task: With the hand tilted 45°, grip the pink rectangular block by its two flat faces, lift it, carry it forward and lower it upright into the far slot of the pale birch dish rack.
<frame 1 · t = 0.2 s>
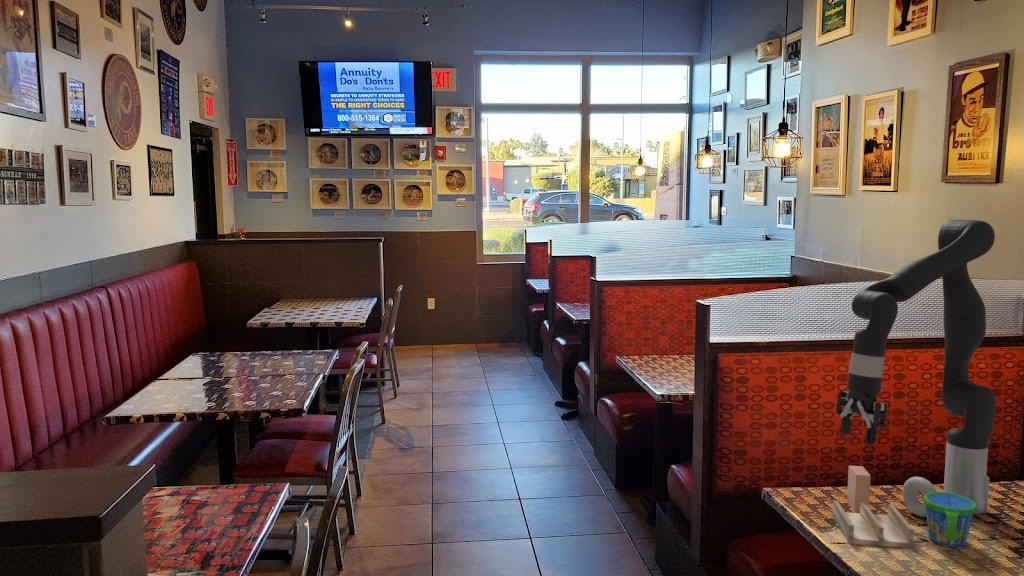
hand: (856, 438, 183), 22 cm above the table, tool pointing down, fingers open, 8 cm apart
grey ring: (919, 516, 191), on the table
pink rectangular block: (857, 507, 197), on the table
snack cup: (946, 542, 177), on the table
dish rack: (870, 531, 182), on the table
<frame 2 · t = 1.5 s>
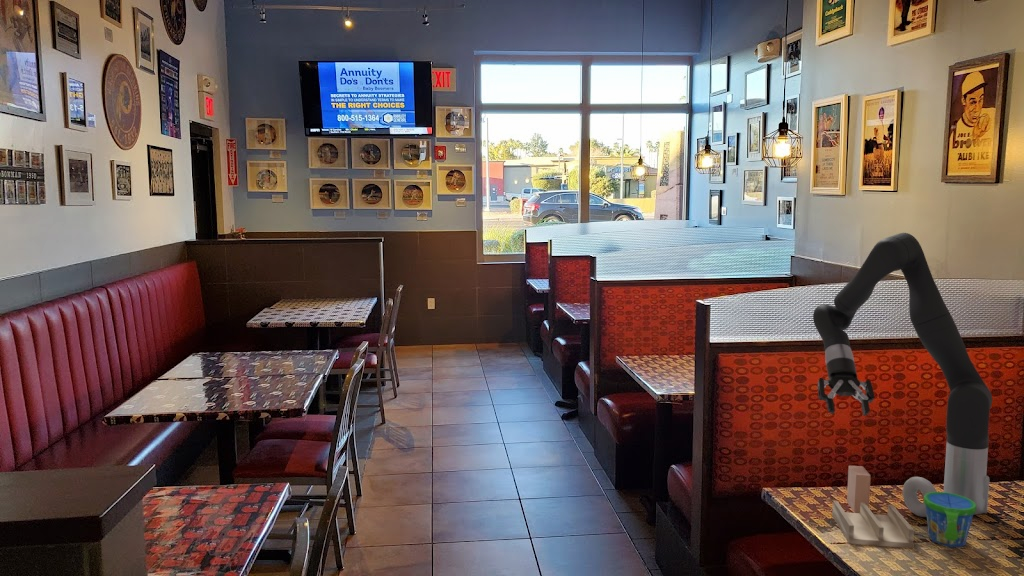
hand: (849, 413, 205), 22 cm above the table, tool tilted 45°, fingers open, 8 cm apart
nothing on the table moved.
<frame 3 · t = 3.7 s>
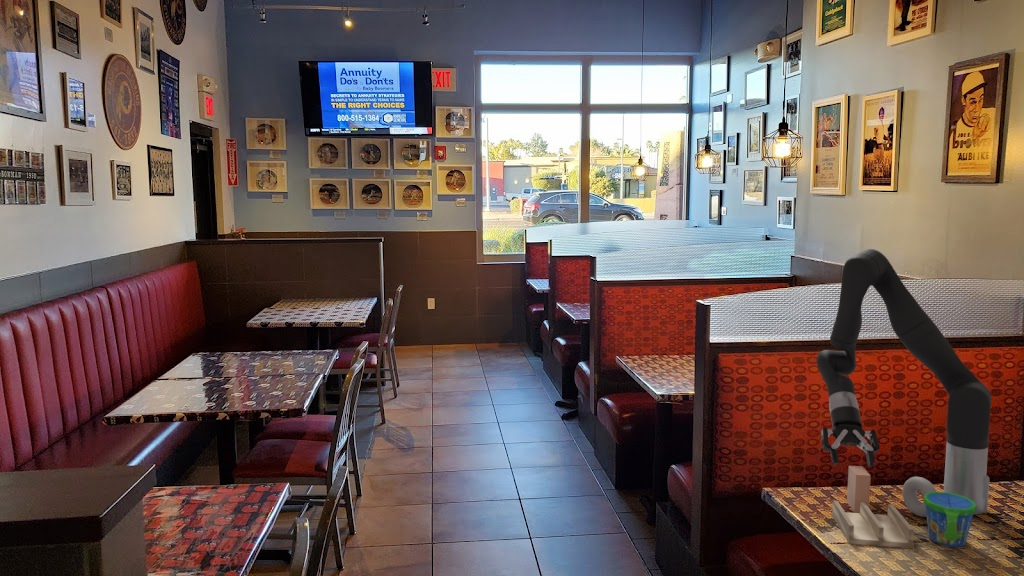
hand: (853, 465, 201), 10 cm above the table, tool tilted 45°, fingers open, 8 cm apart
nothing on the table moved.
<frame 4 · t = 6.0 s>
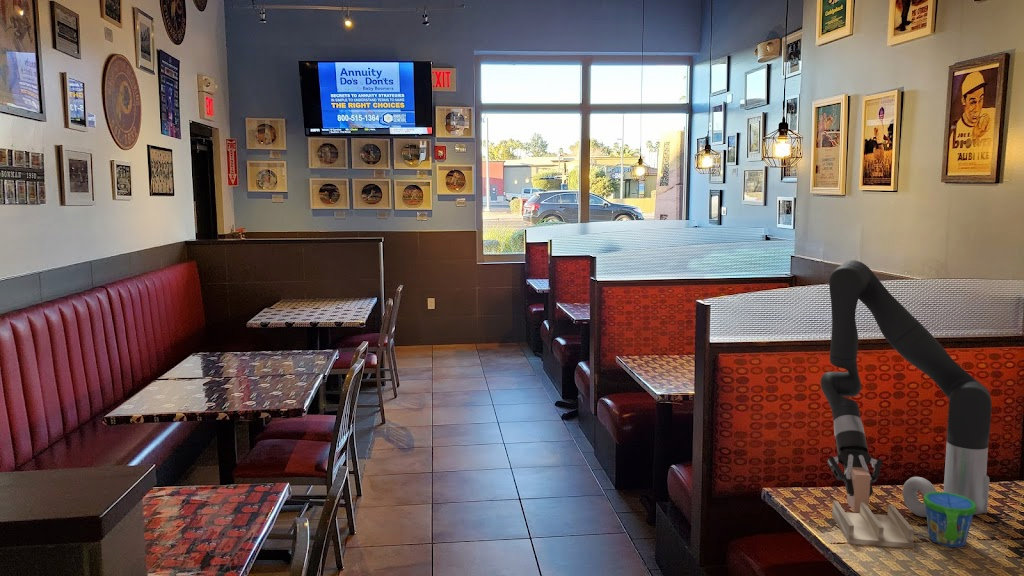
hand: (860, 495, 194), 4 cm above the table, tool tilted 45°, fingers closed on pink rectangular block, 3 cm apart
pink rectangular block: (857, 507, 197), on the table, touching gripper
everything else where it was.
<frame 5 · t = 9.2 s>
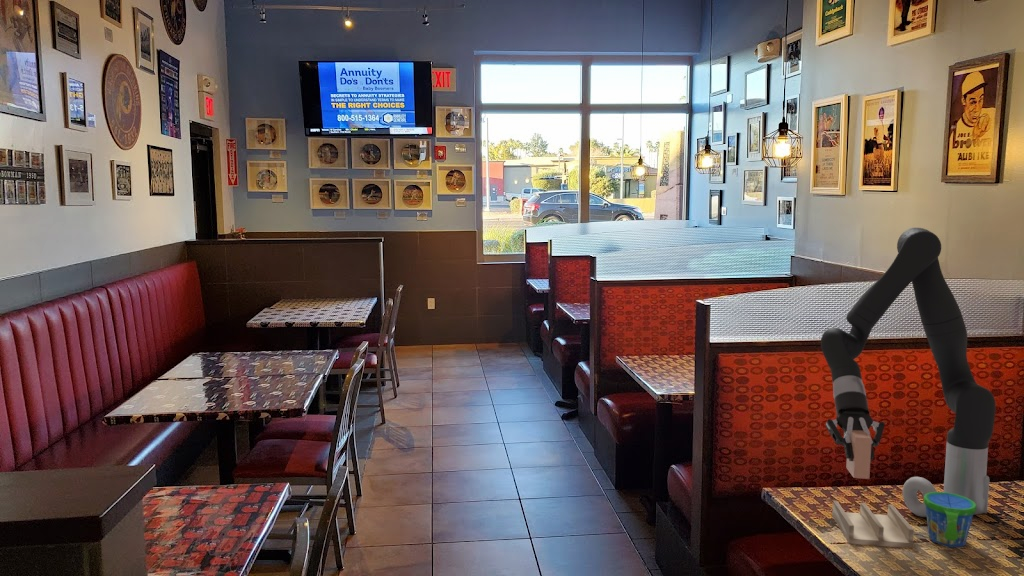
hand: (860, 459, 180), 18 cm above the table, tool tilted 45°, fingers closed on pink rectangular block, 3 cm apart
pink rectangular block: (857, 473, 182), point 14 cm above the table, touching gripper
everything else where it was.
when the fingers open (7 cm above the table, at t = 12.4 s): pink rectangular block drops 1 cm, resting on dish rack.
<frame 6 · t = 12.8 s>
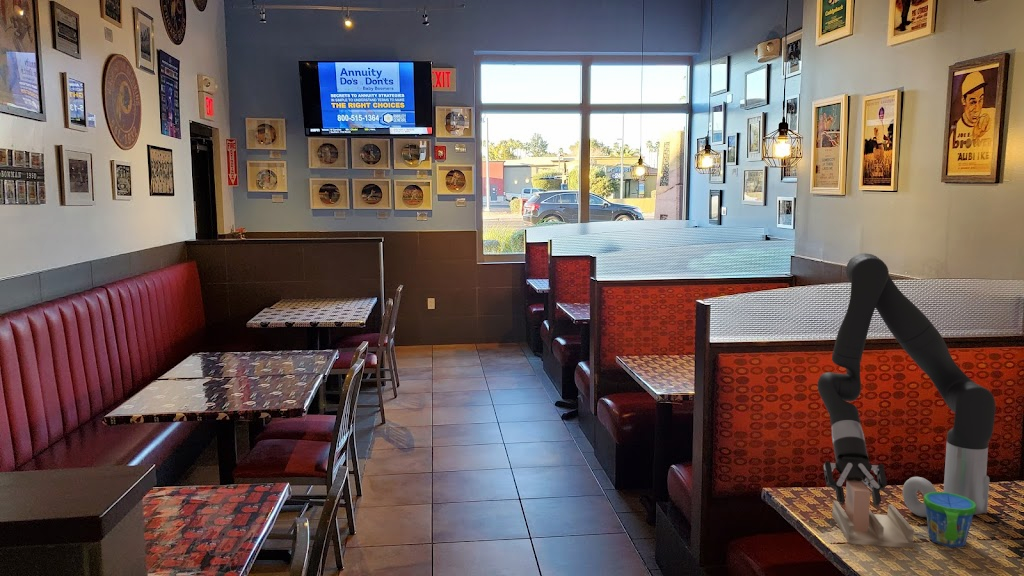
hand: (859, 504, 180), 7 cm above the table, tool tilted 45°, fingers open, 7 cm apart
pink rectangular block: (856, 525, 183), point 1 cm above the table, touching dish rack
everything else where it was.
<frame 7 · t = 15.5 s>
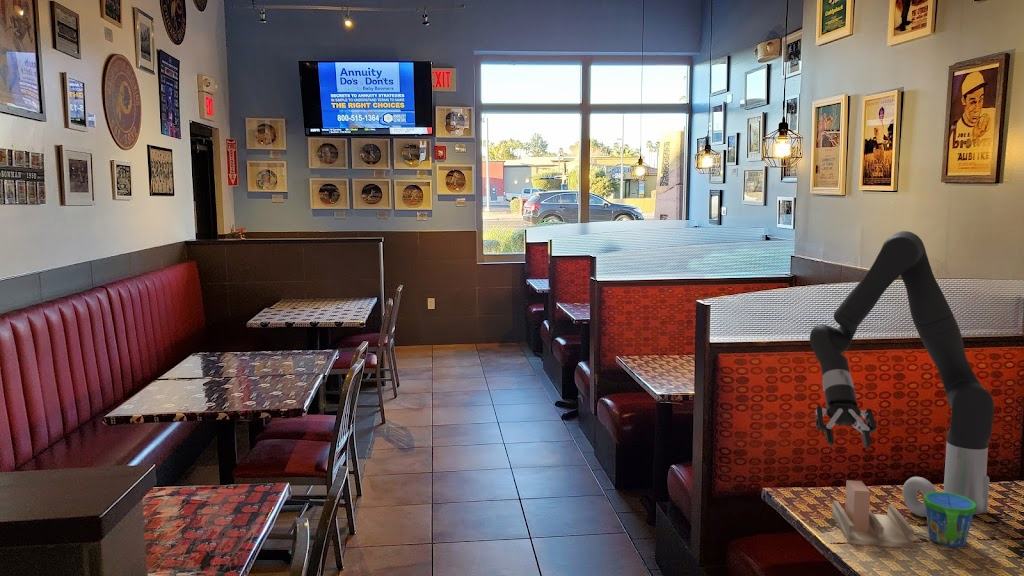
hand: (849, 445, 191), 18 cm above the table, tool tilted 45°, fingers open, 8 cm apart
nothing on the table moved.
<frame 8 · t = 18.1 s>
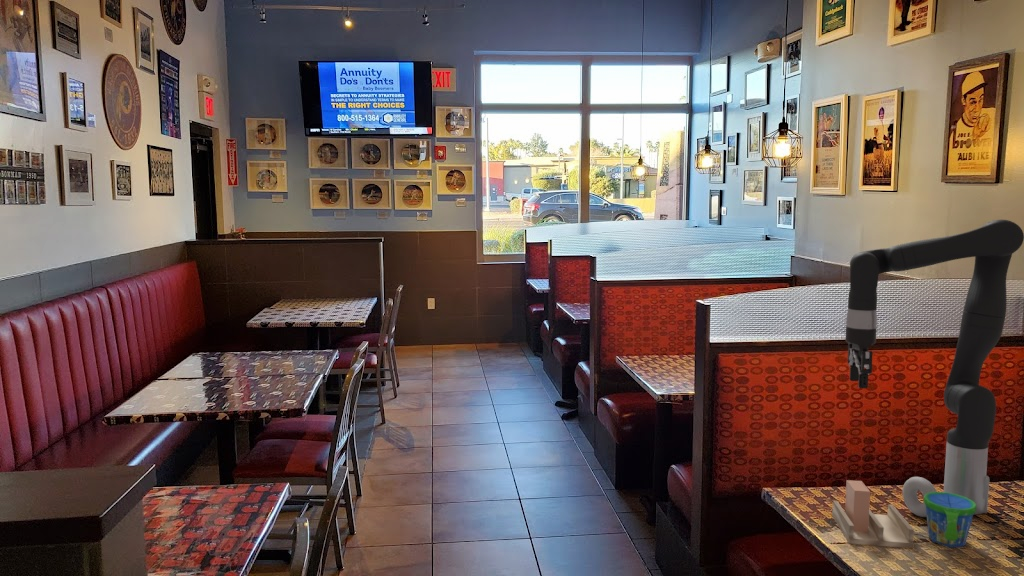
hand: (858, 384, 205), 30 cm above the table, tool pointing down, fingers open, 8 cm apart
nothing on the table moved.
at the end: pink rectangular block 0.2 cm from the target spot on the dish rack, point 1.2 cm above the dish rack's base; pink rectangular block tilted 0°; the gripper is holding nothing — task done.
